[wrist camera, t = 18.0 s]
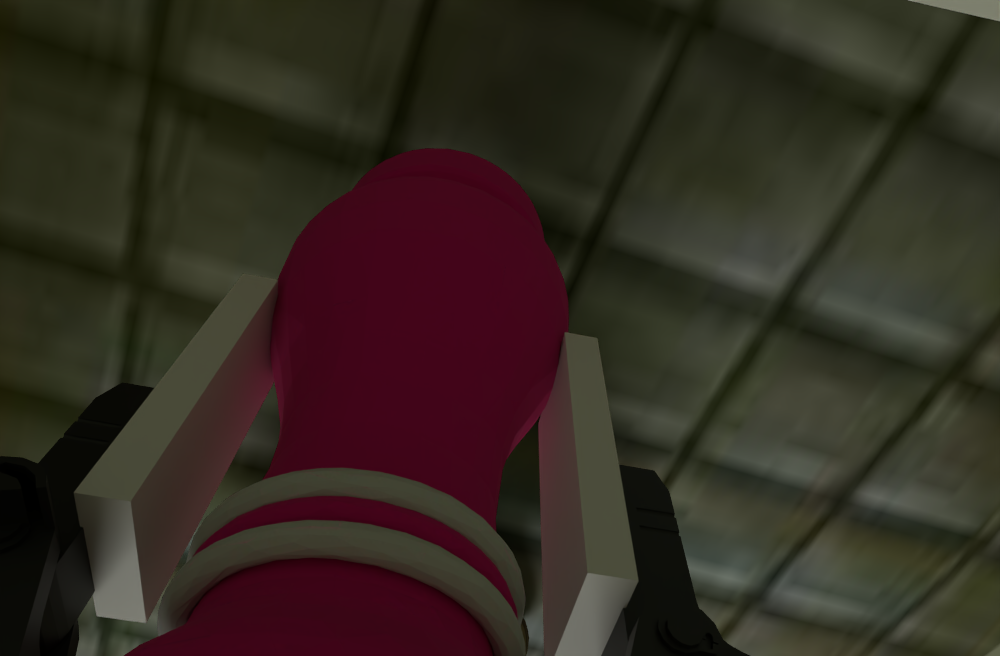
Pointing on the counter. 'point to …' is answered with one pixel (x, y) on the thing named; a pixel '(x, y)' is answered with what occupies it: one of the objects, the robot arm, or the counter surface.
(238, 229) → the counter surface
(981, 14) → the tray
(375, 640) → the pepper mill
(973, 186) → the counter surface
